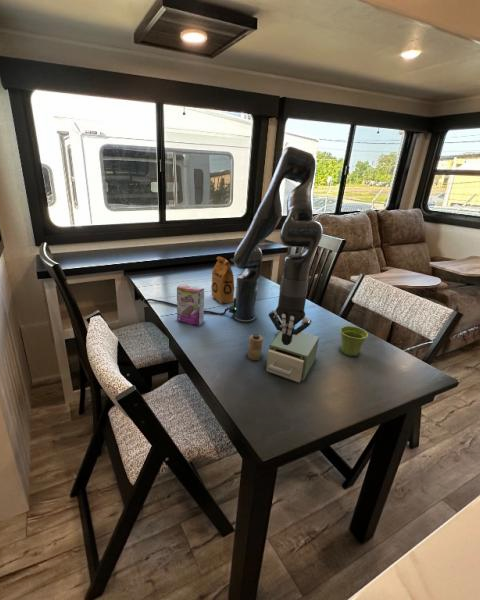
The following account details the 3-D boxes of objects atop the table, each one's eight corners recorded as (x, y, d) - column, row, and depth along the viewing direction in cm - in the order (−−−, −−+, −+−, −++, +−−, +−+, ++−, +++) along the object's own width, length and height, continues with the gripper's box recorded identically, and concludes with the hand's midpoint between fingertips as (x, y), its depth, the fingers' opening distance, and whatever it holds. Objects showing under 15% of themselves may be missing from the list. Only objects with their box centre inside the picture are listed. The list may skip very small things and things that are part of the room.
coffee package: (218, 305, 155) (220, 263, 147) (209, 296, 166) (210, 256, 157) (236, 302, 159) (238, 261, 150) (226, 294, 169) (227, 254, 161)
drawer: (294, 390, 95) (298, 369, 92) (260, 378, 101) (262, 357, 97) (310, 362, 109) (314, 343, 106) (279, 352, 115) (282, 334, 112)
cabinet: (303, 381, 101) (307, 356, 97) (267, 368, 107) (269, 344, 103) (314, 359, 112) (319, 336, 109) (281, 349, 118) (284, 327, 115)
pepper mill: (245, 357, 113) (247, 336, 109) (251, 351, 117) (253, 330, 113) (257, 361, 111) (259, 339, 107) (262, 355, 114) (264, 334, 111)
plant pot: (361, 361, 112) (366, 341, 108) (333, 353, 116) (338, 333, 113) (364, 350, 119) (369, 330, 116) (338, 343, 124) (343, 323, 120)
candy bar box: (176, 321, 138) (175, 287, 132) (182, 316, 143) (181, 283, 136) (199, 326, 134) (199, 291, 128) (204, 322, 138) (204, 287, 132)
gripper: (319, 292, 89) (311, 344, 95) (275, 283, 95) (270, 333, 102) (313, 300, 83) (304, 356, 89) (266, 290, 89) (261, 343, 96)
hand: (286, 343), depth 96 cm, fingers closed
